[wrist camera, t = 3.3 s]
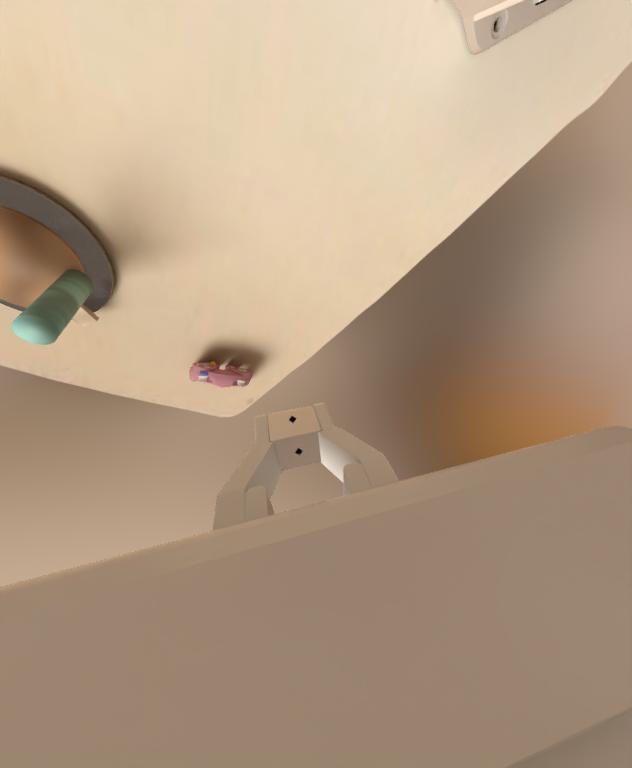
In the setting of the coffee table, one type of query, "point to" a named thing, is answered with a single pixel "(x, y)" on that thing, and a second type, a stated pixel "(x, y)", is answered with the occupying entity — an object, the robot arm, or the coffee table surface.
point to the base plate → (62, 236)
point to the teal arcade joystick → (41, 278)
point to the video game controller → (220, 374)
